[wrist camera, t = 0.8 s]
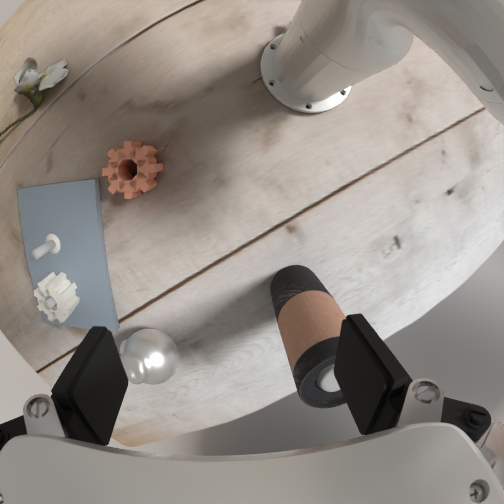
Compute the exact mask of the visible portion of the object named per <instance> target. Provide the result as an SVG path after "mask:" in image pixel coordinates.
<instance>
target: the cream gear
mask: <svg viewBox="0 0 504 504" xmlns="http://www.w3.org/2000/svg"><path fill="white" fill-rule="evenodd" d="M66 275H67V274H65V273H63V272H61V273H60V274H59V275H57V276H56V275H55V273H54V271H53V272H52V273H50V274H49V275H47V276H46V277H45V278H44V279H42V280H41V281H40V282H39V283H38V286H39V287H38V288H37V289H35V290H34V296H35V297H36V298H38V303H39V304H38V305H37V307H38V309H39V311H42V310H43V311H44V313H45V314H47V315H48V320H50V321H52V322H53V320H54V319H58V320H59V321H60V323H62V322H64V321H65V320H66V319H67V318H68V317H69V315H70V314H71V313H72V312H73V311H74V309H75V307H76V306H77V305H78V304H79V301H80V298H79V297H77V296H76V292H75V290H76V289H77V286H76V284H75V282H74V283H70V281H69V280H67V279H66ZM50 297H53V298H54V299H55V301H56V304H55V305H54V306H53V307H52V308H51V309H50V310H48V309H46V308H45V306H44V303H45V302H46V301H47V300H48V299H49V298H50Z"/></svg>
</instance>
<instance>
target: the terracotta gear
mask: <svg viewBox="0 0 504 504" xmlns="http://www.w3.org/2000/svg"><path fill="white" fill-rule="evenodd" d="M157 152H158V151H157V150H156V149H155V148H154V147H153V146H148V145H144V146H143V147H142V148H141V142H138V141H124V148H111V149H110V151H109V152H108V153H107V155H108V156H109V157H110V158H111V159H110V160H109V162H108V167H106V168H102V176H108V181H109V182H110V183H111V185H110V186H109V187H108V190H109V191H110V192H111V193H112V194H114V193H117V192H124V199H133V198H135V197H137V196H139V195H141V194H142V191H143V192H144V193H145V192H147V191H149V190H152V189H153V188H154V187H155V186H156V185H157V184H158V183H157V182H156V181H155V180H154V178H155V177H156V176H157V172H159V171H163V163H157V159H156V158H155V157H154V155H155V154H156V153H157ZM132 161H134V162H135V163H136V164H137V175H136V176H135V177H133V176H132V175H131V174H130V173H129V164H130V163H131V162H132Z"/></svg>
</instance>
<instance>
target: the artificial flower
mask: <svg viewBox="0 0 504 504" xmlns="http://www.w3.org/2000/svg"><path fill="white" fill-rule="evenodd" d="M66 65H67V62H66V61H65V60H63V59H62V60H60V61H58V62H57V63H56V64H54V65H52V66H49V67H47V68H46V69H45V71H44V72H43V73H41V74H40V75H39V73H38V72H37V62H36V60H35V58H33V57H29V58H27V59H26V61H25V62H24V64H23V65H22V67H21V69H20V70H19V71H18V72H17V74H16V75H15V77H14V81H15V83H16V85H18V86H17V87H16V88H15V90H14V91H15V92H18V94H23V95H25V96H26V97H28V98H29V99H30V100H31V102H32V103H33V104H34V107H35V109H34V110H33V111H31V112H30V113H28V114H26V115H25V116H23V117H22V118H20V119H18V120H16V121H15V122H13V123H12V124H10V125H9V126H8V127H7V128H6V129H5V130H4V131H3V132H1V133H0V136H1V135H2V134H4V133H5V132H6V131H7V130H8V129H9V128H11V126H14V125H15V124H16V123H18V122H20V121H21V120H23V119H25V118H26V117H28V116H29V115H31V114H33V113H34V112H35V111H36V110H37V108H38V106H39V104H40V102H41V100H42V98H43V95H42V93H41V90H44V89H46V88H52V87H53V86H55V85H56V84H57V83H58V82H59V81H61V80H62V79H64V77H65V76H66V75H67V73H68V71H69V70H67V69H64V68H63V67H64V66H66Z"/></svg>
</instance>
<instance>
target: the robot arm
mask: <svg viewBox="0 0 504 504" xmlns="http://www.w3.org/2000/svg"><path fill="white" fill-rule="evenodd" d="M414 35H416V36H417V37H418V38H419V39H420V40H422V41H423V42H424V43H425V44H426V45H427V46H428V47H429V48H431V49H432V50H434V51H435V52H436V53H437V54H438V55H439V56H440V57H441V58H442V59H443V60H444V61H445V62H446V63H447V64H448V65H449V66H450V67H451V68H452V69H453V71H454V72H455V73H456V74H457V75H458V76H459V77H460V78H461V79H462V81H463V82H464V83H465V84H466V85H467V86H468V88H469V89H470V90H471V91H472V92H473V93H474V95H475V96H476V97H477V98H478V100H479V101H480V102H481V103H482V104H483V106H484V107H485V108H486V109H487V110H488V111H489V112H490V114H491V115H492V116H493V117H494V118H496V119H497V120H498V121H499V122H500V123H502V124H503V125H504V0H302V2H301V4H300V6H299V8H298V10H297V12H296V14H295V16H294V18H293V20H292V22H291V24H290V26H289V28H288V30H287V32H286V33H283V34H281V35H279V36H277V37H275V38H274V39H273V40H272V41H271V42H269V44H268V45H267V46H266V48H265V49H264V52H263V54H262V58H261V61H260V71H261V76H262V79H263V82H264V84H265V86H266V88H267V89H268V91H269V92H270V93H271V94H272V95H273V96H274V98H275V99H277V100H278V101H279V102H281V103H282V104H283V105H285V106H287V107H289V108H291V109H293V110H296V111H299V112H305V113H320V112H325V111H328V110H331V109H333V108H335V107H337V106H338V105H340V104H341V103H342V102H343V101H344V100H345V99H346V98H347V96H348V95H349V92H350V90H351V87H352V85H354V84H356V83H358V82H360V81H362V80H364V79H366V78H368V77H370V76H372V75H374V74H376V73H378V72H381V71H383V70H385V69H387V68H389V67H391V66H393V65H395V64H396V63H398V62H399V61H401V60H402V59H403V58H404V57H405V56H406V54H407V53H408V51H409V49H410V47H411V45H412V42H413V38H414ZM271 48H274V50H273V49H271ZM270 83H273V86H271V85H270ZM340 92H341V93H342V95H341V94H340ZM306 106H308V107H309V108H308V109H307V108H306ZM334 376H335V378H336V381H337V383H338V385H339V387H340V389H341V391H342V394H343V396H344V398H345V400H346V402H347V404H348V406H349V409H350V411H351V414H352V416H353V418H354V420H355V422H356V425H357V427H358V429H359V432H360V433H361V434H362V435H365V436H362V437H358V438H354V439H350V440H345V441H340V442H336V443H331V444H326V445H321V446H316V447H310V448H304V449H298V450H292V451H284V452H275V453H266V454H254V455H238V456H186V455H185V456H184V455H169V454H157V453H147V452H139V451H132V450H125V449H119V448H113V447H108V446H105V445H108V444H109V441H110V438H111V435H112V431H113V428H114V425H115V422H116V419H117V416H118V413H119V410H120V407H121V404H122V401H123V398H124V395H125V392H126V390H127V387H128V377H127V375H126V372H125V370H124V367H123V364H122V362H121V359H120V356H119V353H118V350H117V348H116V345H115V342H114V339H113V336H112V333H111V331H110V330H108V329H107V328H106V327H105V326H93V327H92V328H91V329H90V330H89V332H88V333H87V335H86V336H85V338H84V339H83V341H82V342H81V344H80V345H79V347H78V348H77V350H76V351H75V353H74V354H73V356H72V358H71V359H70V361H69V362H68V364H67V365H66V367H65V369H64V370H63V372H62V373H61V375H60V377H59V378H58V380H57V382H56V383H55V385H54V387H53V388H52V390H51V392H52V393H53V394H52V395H51V397H49V396H48V395H45V394H38V395H34V396H32V397H31V398H29V399H28V400H27V401H26V403H25V404H24V407H23V414H24V415H22V416H20V417H18V418H15V419H13V420H10V421H8V422H5V423H3V424H0V504H504V424H503V423H501V422H499V421H497V420H495V421H494V422H491V417H490V414H489V412H488V411H487V410H486V409H485V408H483V407H481V406H478V405H474V404H470V403H466V402H462V401H458V400H454V399H450V398H446V397H444V391H443V389H442V387H441V386H440V384H439V383H437V382H436V381H434V380H431V379H428V378H421V379H417V380H414V381H413V380H412V379H411V378H410V376H409V375H408V374H407V372H406V371H405V369H404V368H403V367H402V365H401V364H400V363H399V362H398V360H397V359H396V357H395V356H394V355H393V354H392V352H391V351H390V350H389V348H388V347H387V346H386V344H385V343H384V342H383V341H382V339H381V338H380V337H379V336H378V334H377V333H376V332H375V330H374V329H373V328H372V327H371V325H370V324H369V323H368V321H367V320H366V319H365V318H364V316H363V315H362V314H353V315H347V317H346V319H343V320H342V324H341V330H340V336H339V342H338V348H337V353H336V358H335V364H334Z"/></svg>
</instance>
